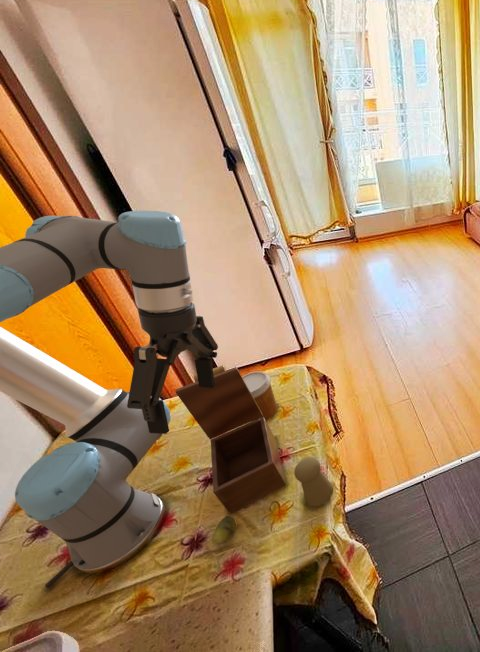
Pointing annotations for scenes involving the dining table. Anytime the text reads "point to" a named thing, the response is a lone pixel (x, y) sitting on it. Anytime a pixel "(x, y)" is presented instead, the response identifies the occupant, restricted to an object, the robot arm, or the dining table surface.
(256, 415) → the lid
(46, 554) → the dining table surface
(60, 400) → the robot arm
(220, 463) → the box
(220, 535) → the lime
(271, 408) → the disposable coffee cup
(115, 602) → the dining table surface
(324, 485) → the tan rounded upright piece
